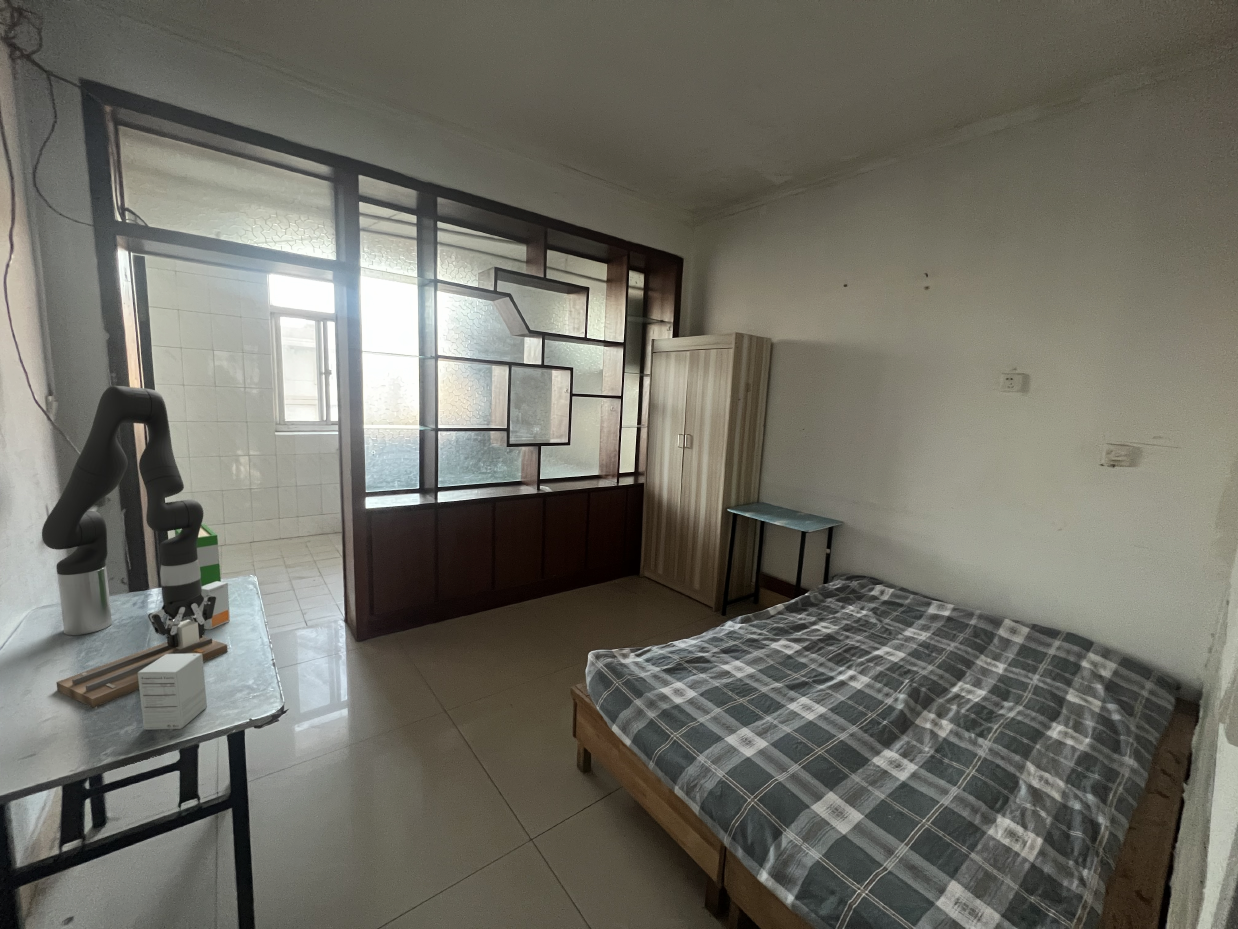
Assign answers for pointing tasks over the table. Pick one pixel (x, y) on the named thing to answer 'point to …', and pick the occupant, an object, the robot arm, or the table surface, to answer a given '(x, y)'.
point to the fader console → (127, 672)
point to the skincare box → (217, 604)
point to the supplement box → (172, 691)
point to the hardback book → (207, 555)
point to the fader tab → (187, 633)
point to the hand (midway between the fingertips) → (186, 642)
